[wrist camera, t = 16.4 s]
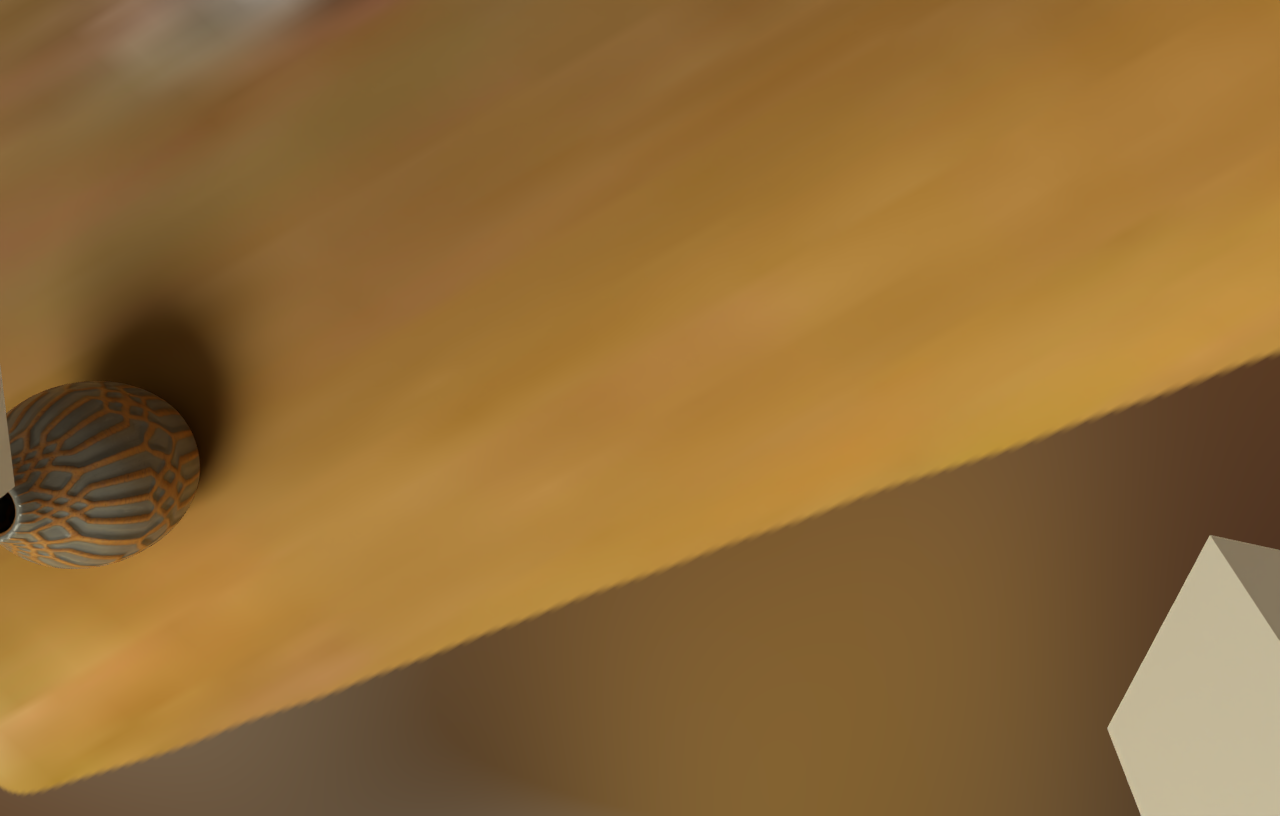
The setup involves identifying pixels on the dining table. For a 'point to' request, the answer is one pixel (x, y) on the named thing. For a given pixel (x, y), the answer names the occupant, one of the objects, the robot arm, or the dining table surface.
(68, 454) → the vase
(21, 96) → the dining table surface
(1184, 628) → the robot arm
